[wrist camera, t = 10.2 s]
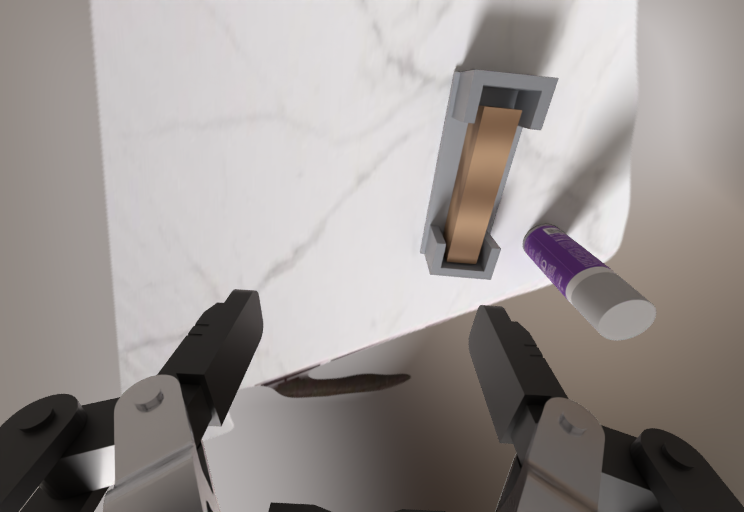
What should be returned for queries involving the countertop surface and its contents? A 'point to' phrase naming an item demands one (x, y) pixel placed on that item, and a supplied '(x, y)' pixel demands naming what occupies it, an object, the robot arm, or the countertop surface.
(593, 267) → the container
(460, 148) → the endcap rail
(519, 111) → the slat
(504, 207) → the countertop surface
